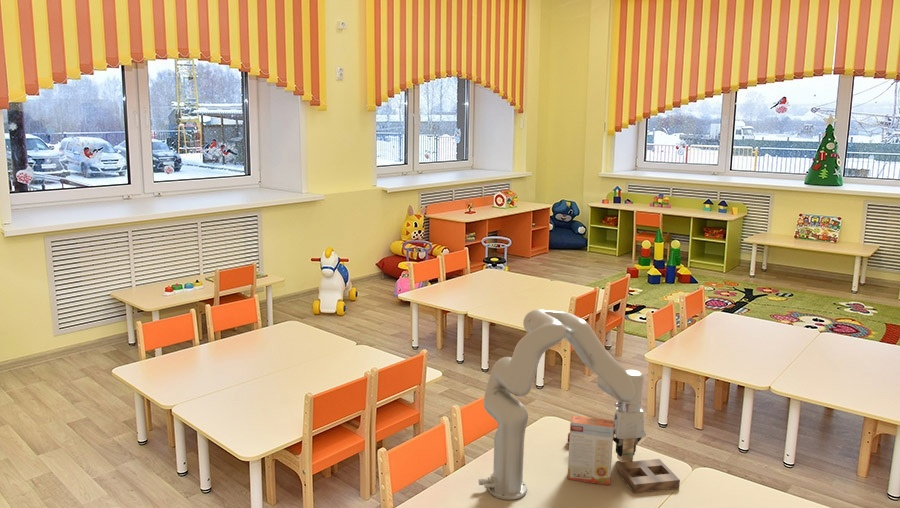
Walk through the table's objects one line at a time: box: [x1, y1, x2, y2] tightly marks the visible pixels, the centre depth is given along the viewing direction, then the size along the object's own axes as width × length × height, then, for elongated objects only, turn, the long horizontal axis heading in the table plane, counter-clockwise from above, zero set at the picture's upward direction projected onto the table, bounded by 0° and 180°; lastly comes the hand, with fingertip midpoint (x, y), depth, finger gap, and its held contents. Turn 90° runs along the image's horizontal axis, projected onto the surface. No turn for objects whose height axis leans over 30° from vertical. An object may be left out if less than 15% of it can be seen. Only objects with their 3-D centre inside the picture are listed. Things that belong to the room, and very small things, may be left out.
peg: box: [616, 438, 635, 462], centre depth 247 cm, size 4×4×10 cm
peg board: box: [615, 458, 681, 494], centre depth 237 cm, size 16×14×3 cm
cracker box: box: [567, 415, 614, 486], centre depth 235 cm, size 14×6×21 cm, turn 74°
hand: (625, 453), depth 247 cm, fingers closed on peg, 4 cm apart
